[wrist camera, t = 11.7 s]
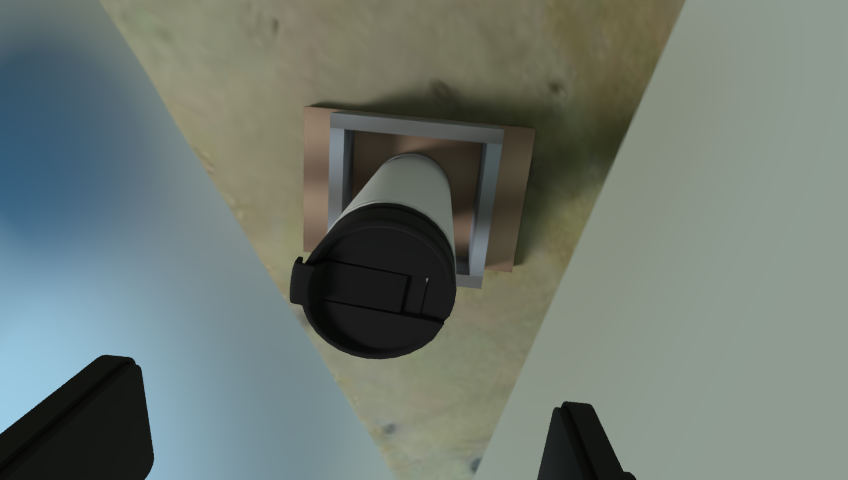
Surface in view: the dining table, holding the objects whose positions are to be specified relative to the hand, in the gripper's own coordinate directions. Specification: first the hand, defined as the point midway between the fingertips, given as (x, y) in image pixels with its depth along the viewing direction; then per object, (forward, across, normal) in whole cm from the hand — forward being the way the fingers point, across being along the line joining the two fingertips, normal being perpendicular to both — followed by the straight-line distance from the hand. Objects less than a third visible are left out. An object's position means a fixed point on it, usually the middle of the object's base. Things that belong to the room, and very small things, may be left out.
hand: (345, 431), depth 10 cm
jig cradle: (+28, 0, +1) cm, 28 cm away
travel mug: (+27, 0, +1) cm, 27 cm away
